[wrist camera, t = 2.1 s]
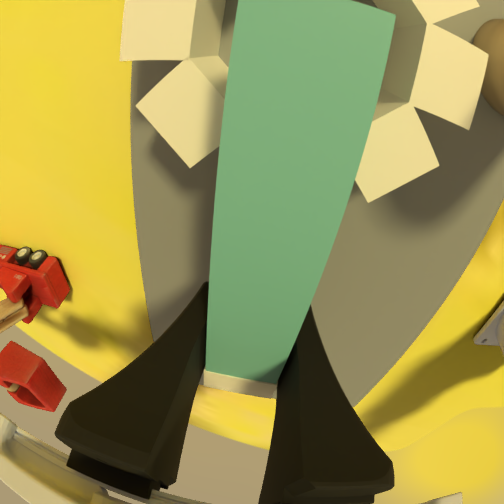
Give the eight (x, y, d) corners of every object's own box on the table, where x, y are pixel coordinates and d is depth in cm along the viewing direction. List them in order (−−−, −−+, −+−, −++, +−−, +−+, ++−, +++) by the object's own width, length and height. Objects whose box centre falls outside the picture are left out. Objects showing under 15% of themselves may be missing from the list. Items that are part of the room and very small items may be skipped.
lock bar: (370, 24, 5) (399, 15, 3) (275, 354, 12) (270, 398, 11) (254, 0, 5) (237, -19, 3) (214, 342, 12) (203, 385, 11)
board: (536, 0, 4) (598, 7, 1) (353, 394, 23) (355, 441, 19) (174, -105, 5) (126, -144, 1) (165, 362, 23) (149, 408, 20)
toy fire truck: (-16, 236, 18) (-82, 315, 10) (104, 260, 17) (22, 395, 9) (-2, 266, 20) (-60, 344, 12) (116, 298, 19) (53, 422, 11)
